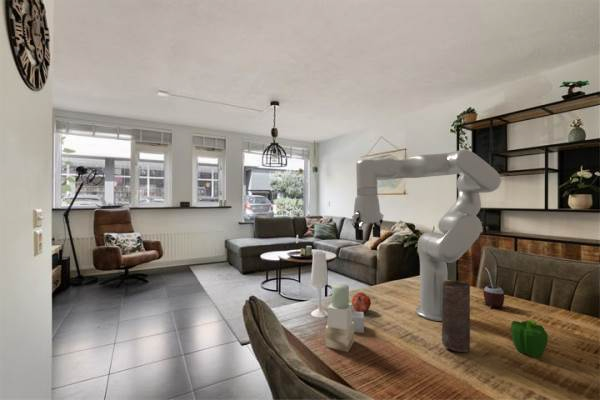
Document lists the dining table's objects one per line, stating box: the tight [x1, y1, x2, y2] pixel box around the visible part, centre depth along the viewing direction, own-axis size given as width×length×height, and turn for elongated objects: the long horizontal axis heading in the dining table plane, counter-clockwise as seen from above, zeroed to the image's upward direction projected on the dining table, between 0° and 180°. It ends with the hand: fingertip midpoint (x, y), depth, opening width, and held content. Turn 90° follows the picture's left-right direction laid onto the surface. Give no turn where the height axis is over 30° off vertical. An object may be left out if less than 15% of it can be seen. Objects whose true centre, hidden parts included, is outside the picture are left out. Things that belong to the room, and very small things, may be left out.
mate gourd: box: [483, 267, 506, 310], centre depth 115 cm, size 8×8×15 cm
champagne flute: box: [310, 250, 329, 318], centre depth 108 cm, size 7×7×24 cm
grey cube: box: [352, 310, 365, 334], centre depth 96 cm, size 5×5×5 cm
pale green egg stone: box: [331, 283, 350, 309], centre depth 86 cm, size 5×5×6 cm
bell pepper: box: [510, 319, 549, 358], centre depth 81 cm, size 8×8×10 cm
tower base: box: [324, 322, 355, 353], centre depth 86 cm, size 7×7×6 cm
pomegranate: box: [351, 292, 372, 313], centre depth 111 cm, size 7×7×10 cm
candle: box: [441, 279, 471, 353], centre depth 83 cm, size 8×7×20 cm
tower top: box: [326, 302, 353, 331], centre depth 86 cm, size 6×6×6 cm
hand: (368, 238), depth 104 cm, fingers open, 9 cm apart
